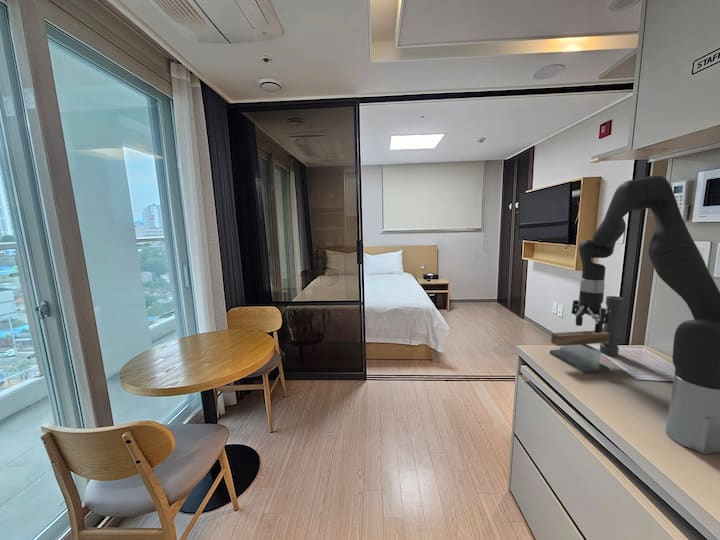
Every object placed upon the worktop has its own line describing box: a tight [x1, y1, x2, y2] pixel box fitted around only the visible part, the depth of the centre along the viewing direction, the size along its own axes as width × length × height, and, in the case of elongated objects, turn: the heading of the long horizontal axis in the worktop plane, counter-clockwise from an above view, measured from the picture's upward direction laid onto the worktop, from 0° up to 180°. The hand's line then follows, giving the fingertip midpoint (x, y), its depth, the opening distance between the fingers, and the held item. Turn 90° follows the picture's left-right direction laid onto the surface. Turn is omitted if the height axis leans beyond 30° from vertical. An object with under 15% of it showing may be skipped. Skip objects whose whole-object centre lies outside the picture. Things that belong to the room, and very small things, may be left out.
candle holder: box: [599, 295, 625, 357], centre depth 125 cm, size 6×6×25 cm
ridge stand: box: [549, 344, 611, 375], centre depth 119 cm, size 18×10×8 cm, turn 7°
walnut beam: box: [550, 330, 610, 347], centre depth 118 cm, size 4×22×4 cm, turn 95°
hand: (587, 328), depth 118 cm, fingers open, 8 cm apart
